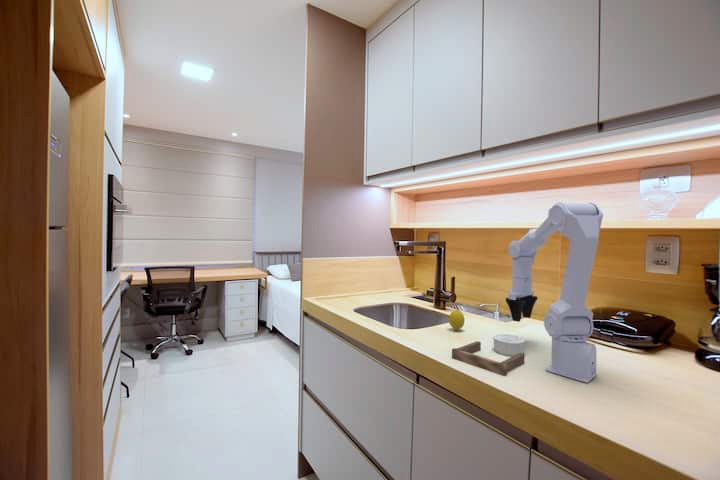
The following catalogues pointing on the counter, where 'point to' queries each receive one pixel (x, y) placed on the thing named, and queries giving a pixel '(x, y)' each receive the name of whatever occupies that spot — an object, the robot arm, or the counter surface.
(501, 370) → the walnut rail
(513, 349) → the ramekin
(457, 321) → the lemon
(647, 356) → the counter surface
